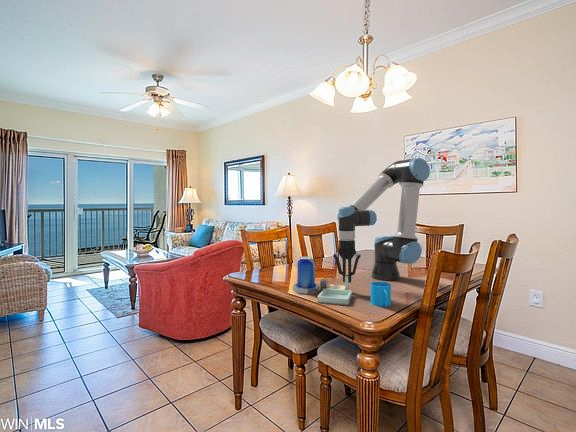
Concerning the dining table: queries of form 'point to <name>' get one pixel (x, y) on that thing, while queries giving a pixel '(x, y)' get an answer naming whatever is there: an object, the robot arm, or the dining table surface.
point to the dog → (323, 284)
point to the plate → (337, 287)
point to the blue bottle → (306, 272)
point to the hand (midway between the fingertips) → (347, 289)
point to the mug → (380, 294)
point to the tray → (335, 296)
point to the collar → (306, 289)
